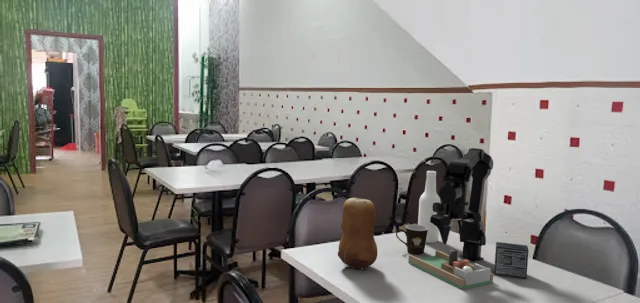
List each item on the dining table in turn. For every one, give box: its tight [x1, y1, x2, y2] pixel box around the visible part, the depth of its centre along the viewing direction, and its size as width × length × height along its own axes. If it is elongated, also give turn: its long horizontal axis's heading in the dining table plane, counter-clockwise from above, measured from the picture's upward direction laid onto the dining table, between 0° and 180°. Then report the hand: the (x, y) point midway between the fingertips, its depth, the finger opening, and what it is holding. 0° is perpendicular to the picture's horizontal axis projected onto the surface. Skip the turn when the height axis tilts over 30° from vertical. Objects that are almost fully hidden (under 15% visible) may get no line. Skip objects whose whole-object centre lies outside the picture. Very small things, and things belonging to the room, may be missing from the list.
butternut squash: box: [337, 197, 378, 270], centre depth 171 cm, size 14×13×25 cm
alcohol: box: [417, 170, 441, 244], centre depth 206 cm, size 9×9×30 cm
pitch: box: [407, 249, 494, 290], centre depth 170 cm, size 14×27×5 cm, turn 29°
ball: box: [462, 266, 473, 272], centre depth 163 cm, size 4×4×4 cm
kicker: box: [441, 249, 470, 275], centre depth 168 cm, size 6×8×7 cm
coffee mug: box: [395, 224, 428, 256], centre depth 192 cm, size 12×9×10 cm
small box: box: [493, 241, 530, 280], centre depth 170 cm, size 11×6×10 cm, turn 71°
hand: (454, 242), depth 167 cm, fingers open, 9 cm apart
